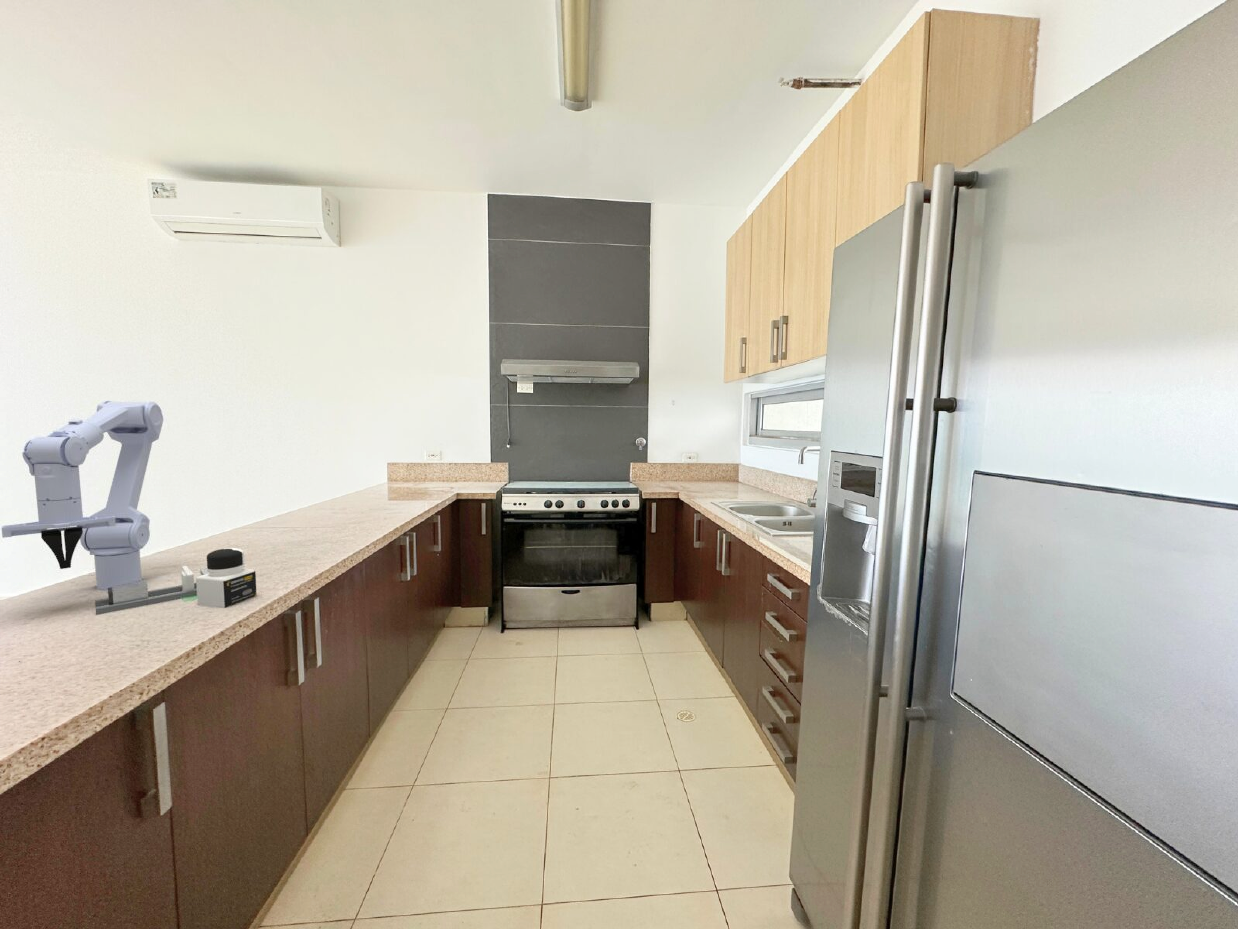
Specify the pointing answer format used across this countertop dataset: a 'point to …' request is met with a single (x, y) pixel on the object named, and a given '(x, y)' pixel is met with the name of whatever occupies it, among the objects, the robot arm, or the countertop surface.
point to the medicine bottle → (225, 579)
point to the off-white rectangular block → (187, 579)
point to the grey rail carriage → (127, 592)
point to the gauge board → (148, 601)
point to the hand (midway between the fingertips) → (65, 567)
